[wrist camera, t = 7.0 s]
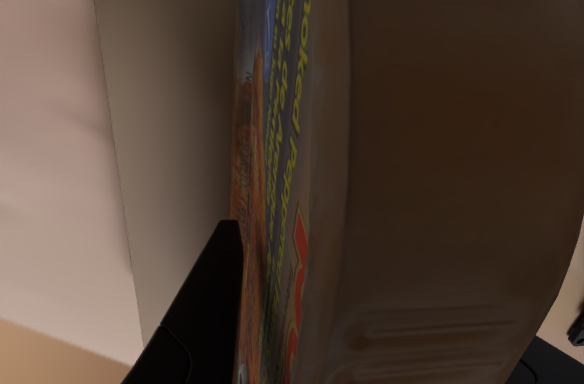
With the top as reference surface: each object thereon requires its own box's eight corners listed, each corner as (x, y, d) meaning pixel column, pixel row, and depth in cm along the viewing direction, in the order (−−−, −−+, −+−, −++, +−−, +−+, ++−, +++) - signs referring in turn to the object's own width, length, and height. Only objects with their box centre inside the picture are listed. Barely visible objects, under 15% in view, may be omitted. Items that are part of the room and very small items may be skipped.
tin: (240, -157, 8) (231, -746, 1) (398, -133, 8) (1218, -400, 1) (225, 347, 16) (212, 680, 9) (305, 345, 16) (353, 661, 9)
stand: (429, -183, 11) (498, -211, 8) (329, 290, 20) (347, 343, 17) (91, -246, 9) (50, -306, 6) (153, 301, 18) (145, 362, 16)
